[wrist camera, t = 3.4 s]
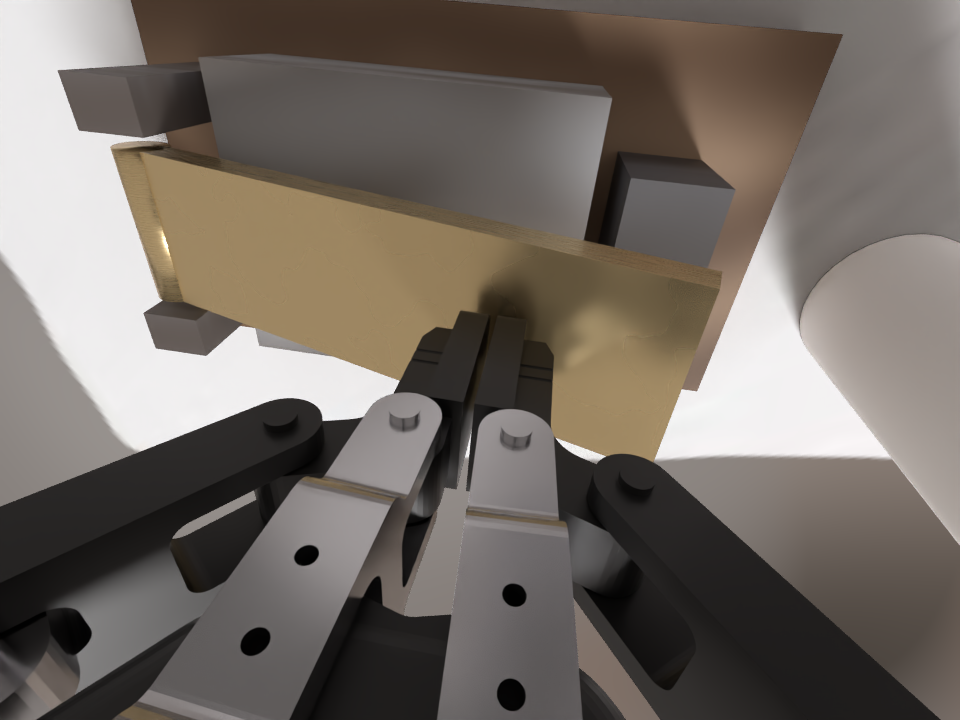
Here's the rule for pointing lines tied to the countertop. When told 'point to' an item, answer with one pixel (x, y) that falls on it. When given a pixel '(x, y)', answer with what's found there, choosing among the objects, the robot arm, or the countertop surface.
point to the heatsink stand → (479, 120)
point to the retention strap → (420, 284)
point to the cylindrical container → (898, 355)
